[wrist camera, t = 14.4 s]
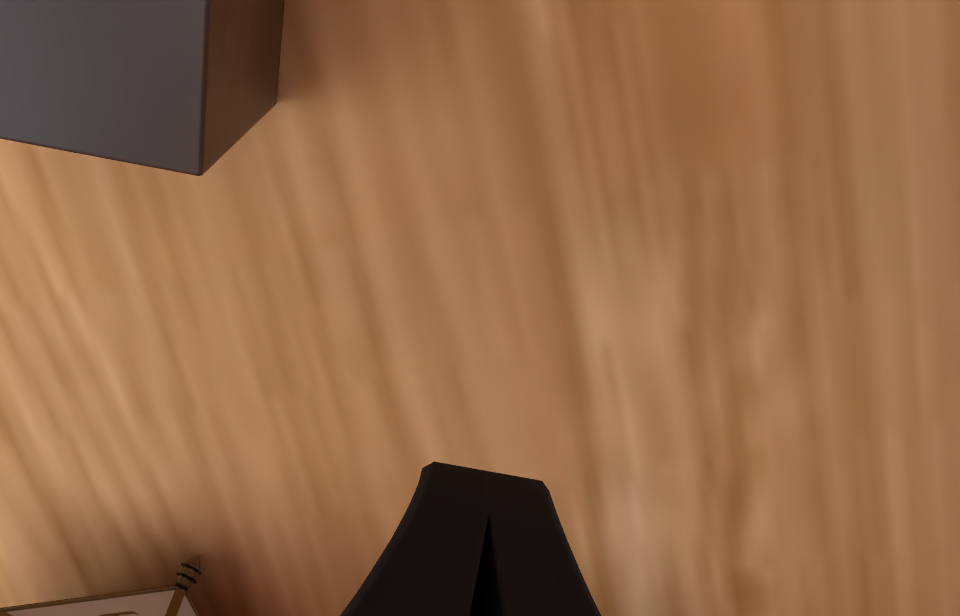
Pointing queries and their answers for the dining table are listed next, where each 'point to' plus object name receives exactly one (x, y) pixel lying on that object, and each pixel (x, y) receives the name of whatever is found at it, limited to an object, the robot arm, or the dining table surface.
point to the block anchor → (138, 76)
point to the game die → (123, 601)
